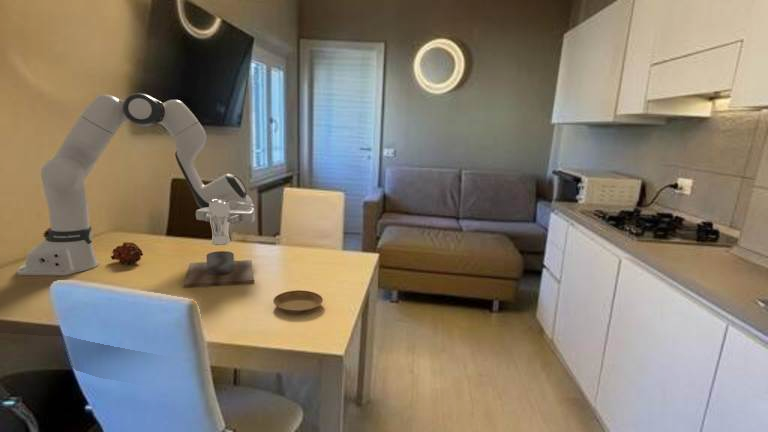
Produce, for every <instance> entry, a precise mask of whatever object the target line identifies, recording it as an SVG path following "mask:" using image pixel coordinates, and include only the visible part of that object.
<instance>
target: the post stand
mask: <svg viewBox="0 0 768 432" xmlns="http://www.w3.org/2000/svg"><path fill="white" fill-rule="evenodd" d="M234 259H235V256H234V253H233V252H231V251H225V250H223V251H222V250H221V251H220V250H219V251H217V250H216V251H212V252H209V253H207V254H206V261H202V262H201V261H200V262H189V264H188V267H187V268H188V269H187V271H186V273H185V274H186V275H185V278H184V281H183V288H199V287H216V286H230V285H231V286H232V285H233V286H234V285H248V284H249V285H250V284H251V285H252V284H255V278H254V269H253V261H252V260H251V259H250V260H249V259H248V260H247V259H246V260H245V259H243V260H234Z"/></svg>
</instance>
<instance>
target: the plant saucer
mask: <svg viewBox="0 0 768 432" xmlns="http://www.w3.org/2000/svg"><path fill="white" fill-rule="evenodd" d="M272 301H273V302H272V303H273V304H274V305H275V307H276V308H277V309H278V310H280V312H282V313H284V314H287V315H293V316H294V315H295V316H299V315H300V316H301V315H306V314H309V313H312V312H315V310H317V309H318V308H319V307H320V306H321V305H322V303H323V301H324V298H323V297H322V296H321V295H320V294H319V293H317V292H313V291H309V290H290V291H289V290H288V291H285V292H281V293H279V294H277V295H275V297H274V298H273V299H272Z"/></svg>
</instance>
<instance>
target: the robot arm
mask: <svg viewBox="0 0 768 432" xmlns="http://www.w3.org/2000/svg"><path fill="white" fill-rule="evenodd" d="M199 121H200V120H198V118H197V117H196V116H195V114H194V113H193V112H192V111H191V110H190V108H189V107H188V106H187V105H186V104H185V103H184V102H183V101H181V100H179V99H168V100H166V101H165V102H161V101H160V100H158V99H156V98H154V97H152V95H149V94H147V93H142V92H135V93H131V94H130V95H127V97H126V98H125V99H123V100H122V99H121V98H120V99H119V98H118V97H117V96H113V95H111V94H108V93H107V94H100V95H98V96H97V97H96V98H95V99H94V100H92V101H91V102H90V104H88V105H87V107H86V108H85V109H84V110H83V112H82V113H81V115H80V116H79V118H78V119H77V121H76V122H75V123H74V125H73V126H72V128H71V129H70V131H69V132H68V133H67V135H66V137H65V138H64V140H63V142H62V144H61V145H60V147H59V149H58V150H57V152H56V153H55V155H54V157H52V158H51V159H50V160H48V161H47V162H46V163H44V164H43V166H42V168H41V172H40V173H41V174H40V177H41V181H42V186H43V190H44V196H45V199H46V202H47V207H48V214H49V215H48V216H49V223H50V226H49V227H48V228H47V229H46V230H45V231H44V232H43V233H42V236H43V237H44V240H43V241H42V242H41V243H39V244H37V245H36V246H35V247H34V248H32V249H31V250H30V251H28V253H27V254H26V257H25V258H26V259H25V263H24V264H22V265H21V266H20V267H18V269H17V275H18V276H68V275H72V274H76V273H79V272H84V271H87V270H91V269H94V268H95V267H97V266H99V261H98V260H97V257H96V254H95V251H94V247H93V238H94V237H93V231H92V230H93V229H92V226H91V224H90V214H89V205H88V199H87V195H86V189H85V180H86V178H87V177H88V175H89V174H90V172H91V170H92V169H93V168H94V166H95V165H96V163H97V161H98V160H99V158H100V157H101V155H102V154H103V153H104V151H105V149H106V148H107V146H108V145H109V144H110V142H111V141H112V139H113V138H114V136H115V134H116V133H117V132H118V130H119V129H120V128H121V127H122V125H124V124H125V123H126V122H131V123H132V124H135V125H137V126H141V127H143V126H144V127H147V126H150V125H154V124H160V126H161V125H162V126H163V127H164V129H166V131H167V132H168V133H169V136H170V137H172V139H173V141H174V144H175V147H176V151H175V153H174V154H175V155H174V156H175V160H176V162H177V164H178V166H179V169H180V171H181V172H182V175H183V176H184V178H185V180H186V182H187V184H188V186H189V189H190V190H191V192H192V195H193V198H194V201H195V203H196V204H197V207H199V209H197V210H195V218H196V220H197V221H205V222H210V219H209V201H210V200H217V199H224V200H229V203H230V217H229V219H228V222H230V224H229V225H232V224H233V225H234V224H236V223H237V224H239V223H248V224H250V223H253V222H255V219H256V206H255V204H254V202H253V199H252V198H251V197H250V196H249V195H248V194H247V188H246V185H245V184H244V183H243V181H242V180H241V178H240V177H238V176H236V175H234V174H232V173H226V174H223V175H221V176H220V177H218V178H216V179H215V180H213V181H211V182H209V183H207V184H204V183H203V181H202V179H201V176H200V175H199V173H198V171H197V168H196V167H195V159H196V158H197V156H198V155H199V154H200V152H201V151H202V150H203V149H204V147H205V145H206V142H207V133H206V131H205V129H204V127H203V126H202V124H201V123H200V122H199Z"/></svg>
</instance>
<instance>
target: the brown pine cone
mask: <svg viewBox="0 0 768 432" xmlns="http://www.w3.org/2000/svg"><path fill="white" fill-rule="evenodd" d="M110 253H111V254H112V255H110V258H111V260H116V261H118V263H119V264H121V265H125V264H128V265H134V264H135V263H136V262H139V261H140V260H141V257H142V256H144V253H143V251H142V249H141V248H140V247H139V246H138V245H137V244H135V243H134V242H131V241H130V242H128V241H127V242H126V241H125V242H123V243H122V245H118V246H116V247H115V248H113V250H112V251H111V252H110ZM133 263H134V264H133Z"/></svg>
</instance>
